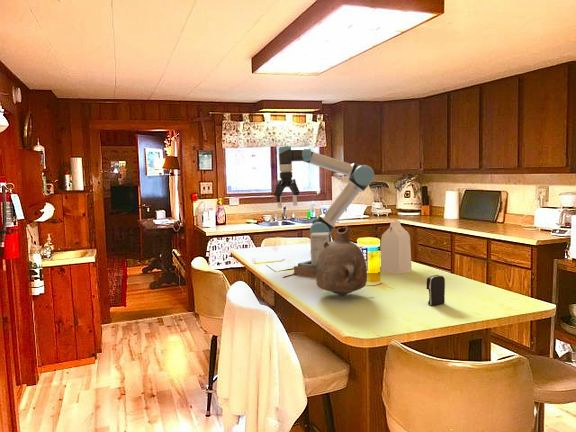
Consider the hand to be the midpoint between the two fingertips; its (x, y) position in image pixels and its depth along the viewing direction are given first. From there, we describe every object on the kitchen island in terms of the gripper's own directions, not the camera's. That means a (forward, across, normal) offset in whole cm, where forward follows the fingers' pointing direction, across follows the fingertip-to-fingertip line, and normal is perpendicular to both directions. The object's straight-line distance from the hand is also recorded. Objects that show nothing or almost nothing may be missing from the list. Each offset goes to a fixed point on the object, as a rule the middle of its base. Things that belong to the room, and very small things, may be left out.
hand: (287, 206), depth 293 cm
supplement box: (+28, +22, +43) cm, 56 cm away
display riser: (+32, +22, +43) cm, 58 cm away
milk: (+33, -4, +72) cm, 79 cm away
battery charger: (+33, +39, +115) cm, 126 cm away
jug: (+32, +52, +79) cm, 100 cm away
